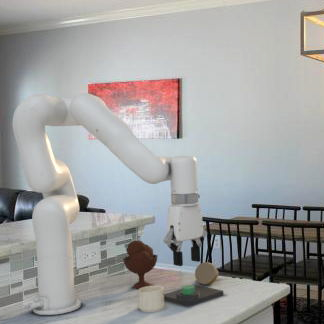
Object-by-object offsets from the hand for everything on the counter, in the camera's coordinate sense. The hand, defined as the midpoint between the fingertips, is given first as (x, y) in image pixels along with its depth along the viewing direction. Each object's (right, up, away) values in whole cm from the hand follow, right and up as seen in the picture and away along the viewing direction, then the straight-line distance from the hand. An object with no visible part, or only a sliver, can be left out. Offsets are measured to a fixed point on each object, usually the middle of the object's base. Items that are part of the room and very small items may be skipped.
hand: (187, 262), depth 153 cm
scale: (+1, -11, +6) cm, 13 cm away
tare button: (0, -9, 0) cm, 9 cm away
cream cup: (-9, -12, -4) cm, 16 cm away
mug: (+4, -11, +23) cm, 26 cm away
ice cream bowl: (-17, -12, +21) cm, 29 cm away
